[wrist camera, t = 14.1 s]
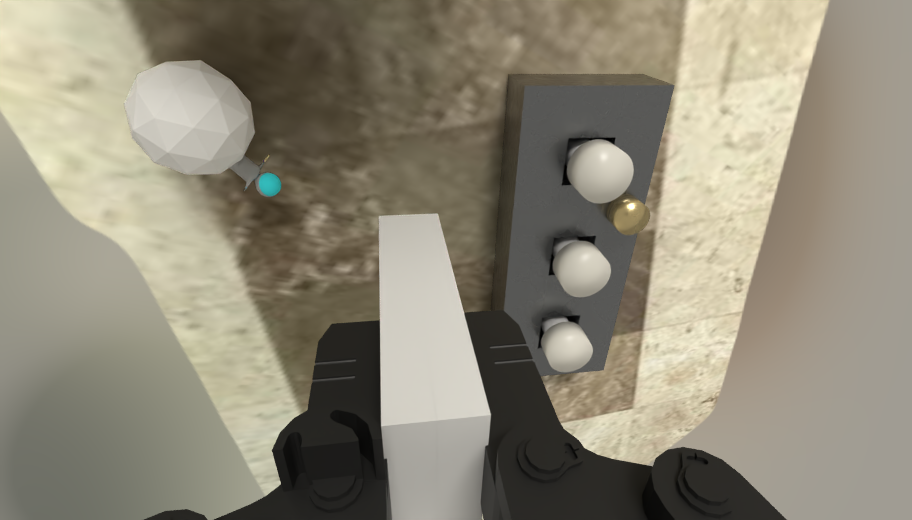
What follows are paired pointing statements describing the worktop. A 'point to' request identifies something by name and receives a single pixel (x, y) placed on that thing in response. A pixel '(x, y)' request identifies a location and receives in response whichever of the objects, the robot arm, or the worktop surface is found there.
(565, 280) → the knob mid
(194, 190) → the worktop surface
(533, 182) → the mount
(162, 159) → the perfume bottle
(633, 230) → the brass dial
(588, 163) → the knob
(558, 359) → the knob
